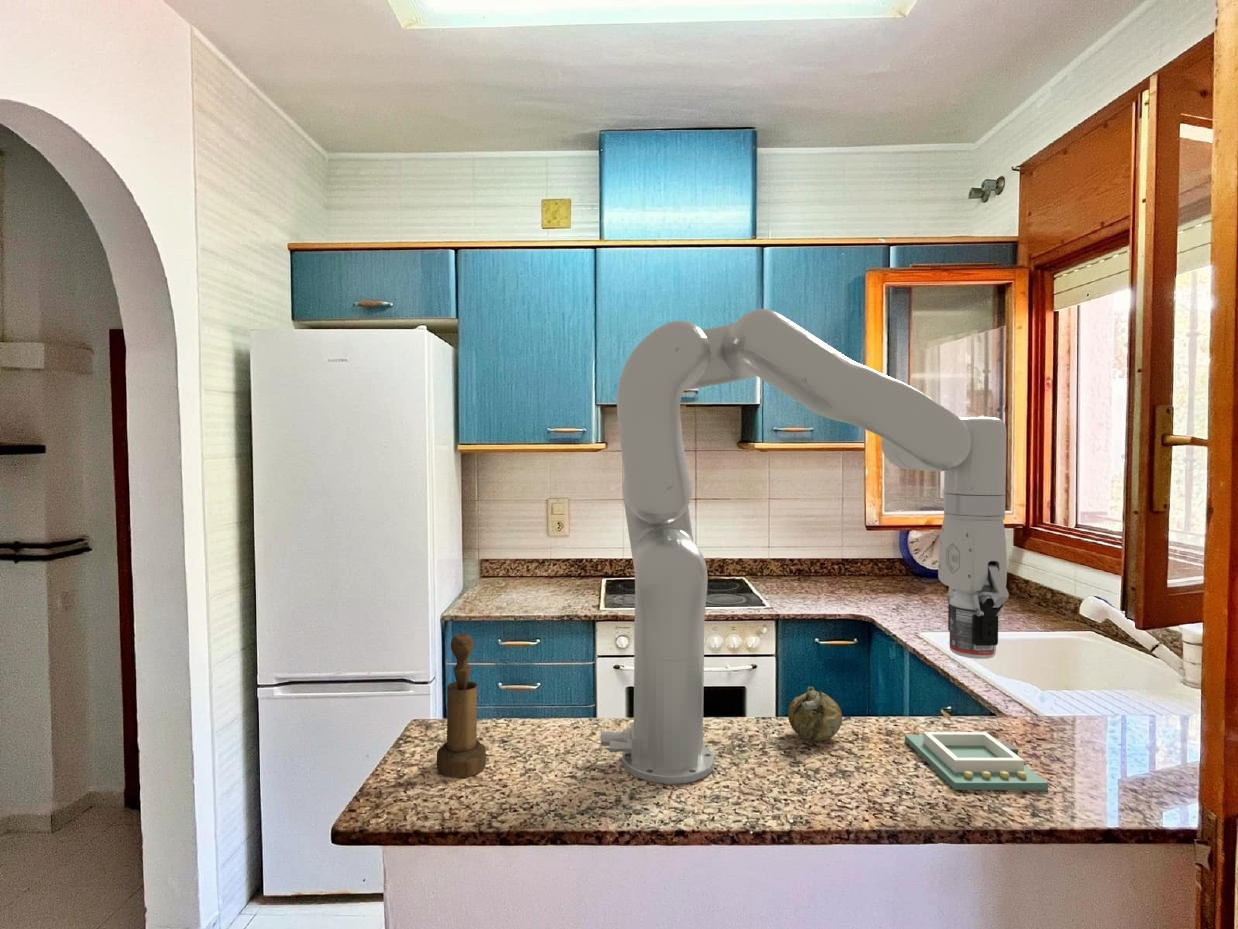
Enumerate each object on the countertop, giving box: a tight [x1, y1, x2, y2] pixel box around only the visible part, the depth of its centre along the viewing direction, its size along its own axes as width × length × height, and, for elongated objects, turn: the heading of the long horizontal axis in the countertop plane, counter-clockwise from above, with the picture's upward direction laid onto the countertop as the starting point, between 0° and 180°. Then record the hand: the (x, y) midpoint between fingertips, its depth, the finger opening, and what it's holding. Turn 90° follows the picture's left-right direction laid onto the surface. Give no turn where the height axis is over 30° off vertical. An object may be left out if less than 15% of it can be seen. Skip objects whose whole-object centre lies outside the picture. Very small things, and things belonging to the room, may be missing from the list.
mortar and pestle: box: [436, 633, 487, 778], centre depth 94 cm, size 7×6×18 cm
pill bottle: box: [949, 588, 997, 660], centre depth 96 cm, size 6×6×10 cm
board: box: [904, 731, 1049, 792], centre depth 97 cm, size 12×15×3 cm
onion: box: [787, 686, 843, 742], centre depth 105 cm, size 8×8×8 cm
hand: (972, 637), depth 96 cm, fingers closed on pill bottle, 5 cm apart
